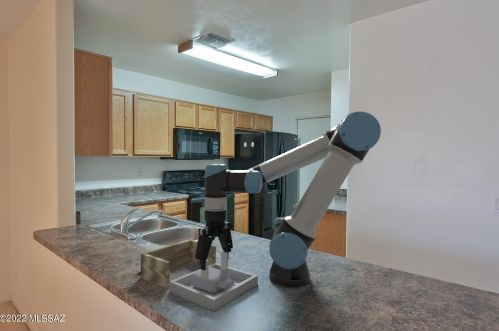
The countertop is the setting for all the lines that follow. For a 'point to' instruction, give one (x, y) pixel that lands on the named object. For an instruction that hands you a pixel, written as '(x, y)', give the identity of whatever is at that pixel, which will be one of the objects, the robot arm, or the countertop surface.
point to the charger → (212, 280)
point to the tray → (216, 299)
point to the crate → (170, 261)
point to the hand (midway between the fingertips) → (215, 274)
